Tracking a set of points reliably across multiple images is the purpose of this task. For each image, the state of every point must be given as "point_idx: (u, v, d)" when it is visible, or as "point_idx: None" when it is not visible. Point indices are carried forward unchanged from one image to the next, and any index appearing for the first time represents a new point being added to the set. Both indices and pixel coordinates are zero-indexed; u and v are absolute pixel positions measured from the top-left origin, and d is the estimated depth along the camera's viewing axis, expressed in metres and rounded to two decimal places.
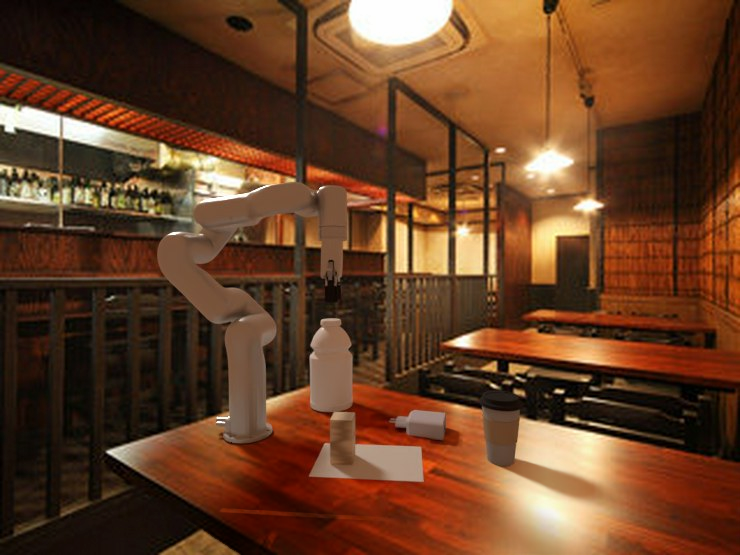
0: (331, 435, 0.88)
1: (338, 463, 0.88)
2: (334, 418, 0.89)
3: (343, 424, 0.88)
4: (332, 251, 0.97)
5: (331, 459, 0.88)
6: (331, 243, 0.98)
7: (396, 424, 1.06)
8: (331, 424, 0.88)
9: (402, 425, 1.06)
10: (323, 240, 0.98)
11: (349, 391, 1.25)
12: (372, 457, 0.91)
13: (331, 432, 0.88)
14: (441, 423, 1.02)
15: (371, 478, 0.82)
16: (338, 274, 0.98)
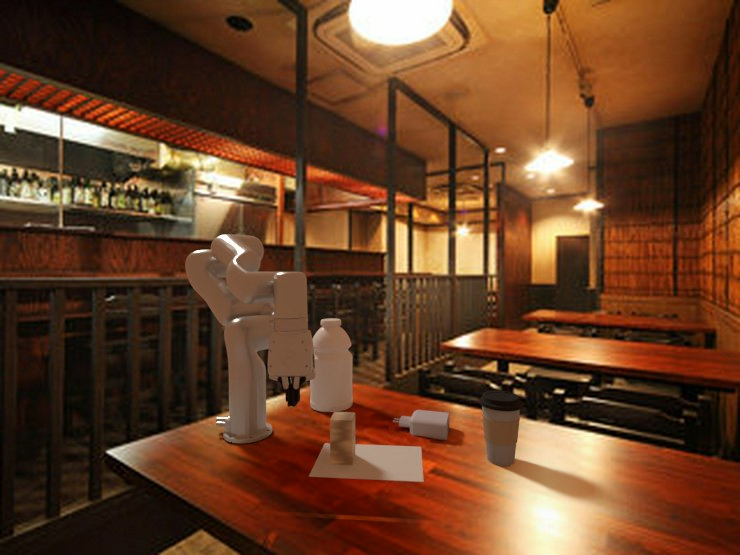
0: (331, 435, 0.88)
1: (338, 463, 0.88)
2: (334, 418, 0.89)
3: (343, 424, 0.88)
4: (312, 344, 0.91)
5: (331, 459, 0.88)
6: (311, 336, 0.91)
7: (400, 424, 1.06)
8: (331, 424, 0.88)
9: (406, 425, 1.06)
10: (306, 333, 0.89)
11: (349, 391, 1.25)
12: (372, 457, 0.91)
13: (331, 432, 0.88)
14: (445, 423, 1.02)
15: (371, 478, 0.82)
16: None
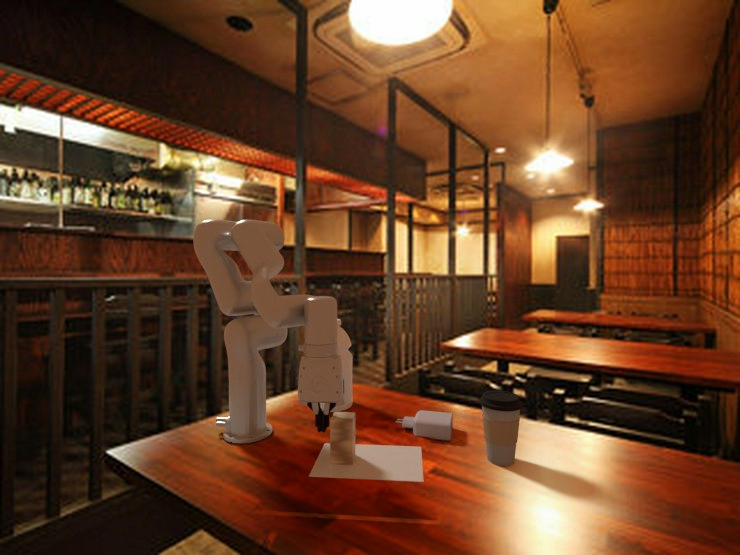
0: (331, 435, 0.88)
1: (338, 463, 0.88)
2: (334, 418, 0.89)
3: (343, 424, 0.88)
4: (342, 369, 0.90)
5: (331, 459, 0.88)
6: (341, 361, 0.90)
7: (403, 424, 1.06)
8: (331, 424, 0.88)
9: (409, 425, 1.05)
10: (337, 359, 0.88)
11: (349, 391, 1.25)
12: (372, 457, 0.91)
13: (331, 432, 0.88)
14: (448, 423, 1.01)
15: (371, 478, 0.82)
16: None
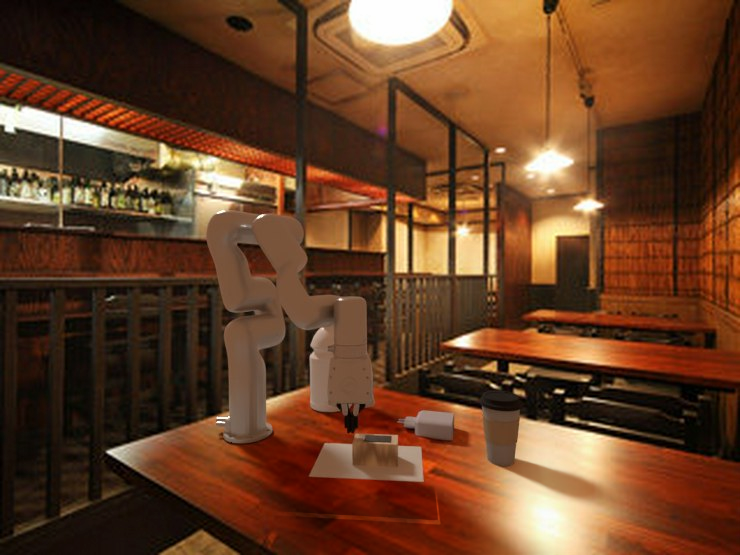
0: (381, 445, 0.87)
1: (353, 451, 0.88)
2: (397, 446, 0.88)
3: (393, 458, 0.87)
4: None
5: (357, 444, 0.87)
6: None
7: (405, 424, 1.06)
8: (392, 445, 0.87)
9: (411, 425, 1.05)
10: (367, 360, 0.87)
11: None
12: None
13: (384, 445, 0.87)
14: (450, 423, 1.01)
15: (371, 478, 0.82)
16: None
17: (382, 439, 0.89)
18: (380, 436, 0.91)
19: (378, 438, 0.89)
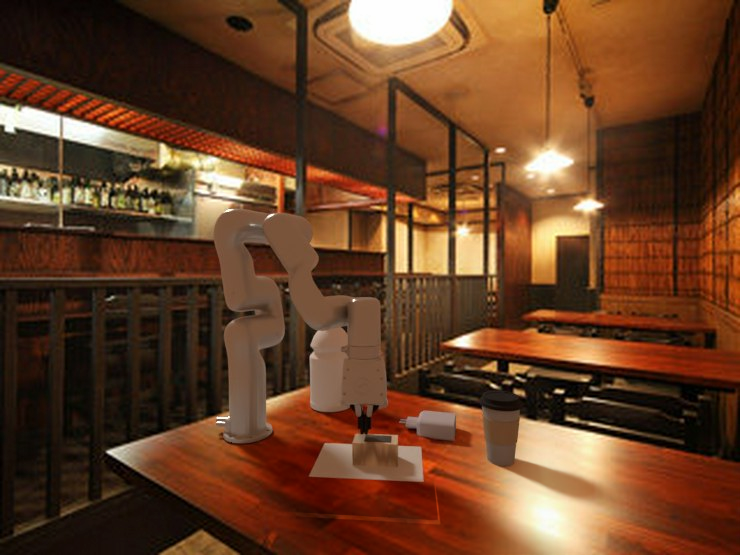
0: (381, 445, 0.87)
1: (353, 451, 0.88)
2: (397, 446, 0.88)
3: (393, 458, 0.87)
4: None
5: (357, 444, 0.87)
6: None
7: (406, 425, 1.06)
8: (392, 445, 0.87)
9: (412, 426, 1.05)
10: (381, 361, 0.87)
11: None
12: None
13: (384, 445, 0.87)
14: (452, 424, 1.01)
15: (371, 478, 0.82)
16: None
17: (382, 439, 0.89)
18: (380, 436, 0.91)
19: (378, 438, 0.89)
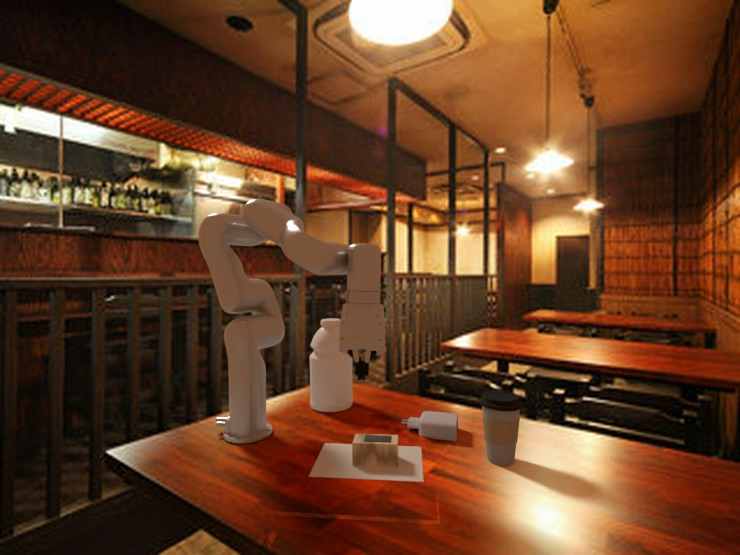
0: (381, 445, 0.87)
1: (353, 451, 0.88)
2: (397, 446, 0.88)
3: (393, 458, 0.87)
4: None
5: (357, 444, 0.87)
6: None
7: (408, 425, 1.05)
8: (392, 445, 0.87)
9: (414, 426, 1.05)
10: (381, 307, 0.87)
11: (349, 391, 1.25)
12: None
13: (384, 445, 0.87)
14: (454, 424, 1.01)
15: (371, 478, 0.82)
16: None
17: (382, 439, 0.89)
18: (380, 436, 0.91)
19: (378, 438, 0.89)
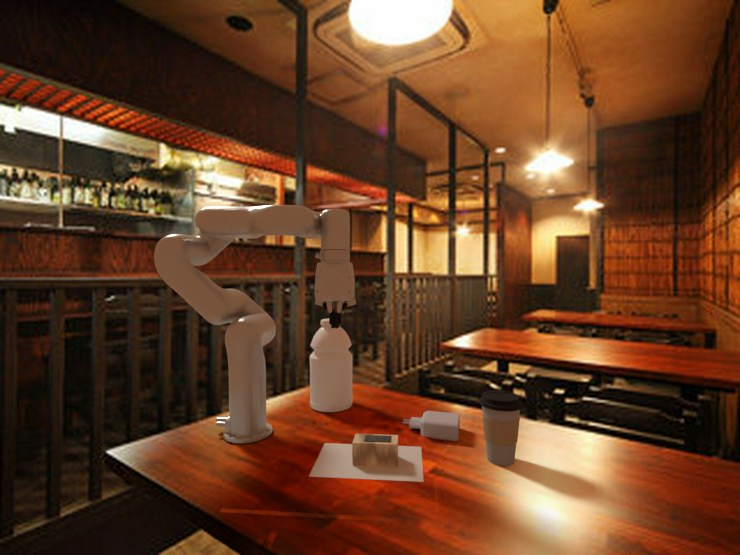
0: (381, 445, 0.87)
1: (353, 451, 0.88)
2: (397, 446, 0.88)
3: (393, 458, 0.87)
4: None
5: (357, 444, 0.87)
6: None
7: (410, 425, 1.05)
8: (392, 445, 0.87)
9: (416, 426, 1.05)
10: (349, 264, 1.00)
11: (349, 391, 1.25)
12: None
13: (384, 445, 0.87)
14: (456, 424, 1.01)
15: (371, 478, 0.82)
16: None
17: (382, 439, 0.89)
18: (380, 436, 0.91)
19: (378, 438, 0.89)
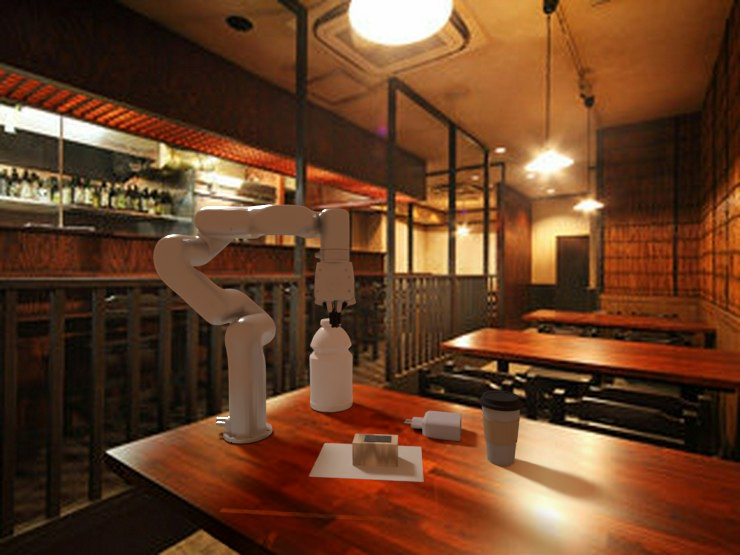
0: (381, 445, 0.87)
1: (353, 451, 0.88)
2: (397, 446, 0.88)
3: (393, 458, 0.87)
4: (353, 274, 1.03)
5: (357, 444, 0.87)
6: (352, 266, 1.02)
7: (412, 425, 1.06)
8: (392, 445, 0.87)
9: (418, 426, 1.05)
10: (349, 263, 1.00)
11: (349, 391, 1.25)
12: None
13: (384, 445, 0.87)
14: (458, 424, 1.01)
15: (371, 478, 0.82)
16: None
17: (382, 439, 0.89)
18: (380, 436, 0.91)
19: (378, 438, 0.89)
